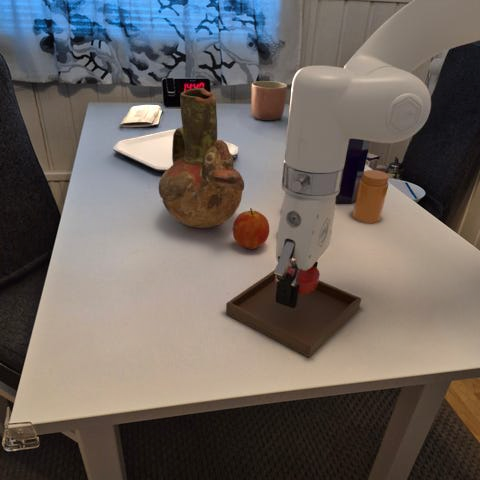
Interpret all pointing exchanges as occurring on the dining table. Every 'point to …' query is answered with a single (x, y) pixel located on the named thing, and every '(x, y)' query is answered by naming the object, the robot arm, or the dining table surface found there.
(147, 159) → the plate
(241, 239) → the fruit
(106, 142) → the dining table surface
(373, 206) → the jar
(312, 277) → the jar lid
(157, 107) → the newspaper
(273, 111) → the planter
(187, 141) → the ceramic vessel
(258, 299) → the tray
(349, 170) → the bottle
